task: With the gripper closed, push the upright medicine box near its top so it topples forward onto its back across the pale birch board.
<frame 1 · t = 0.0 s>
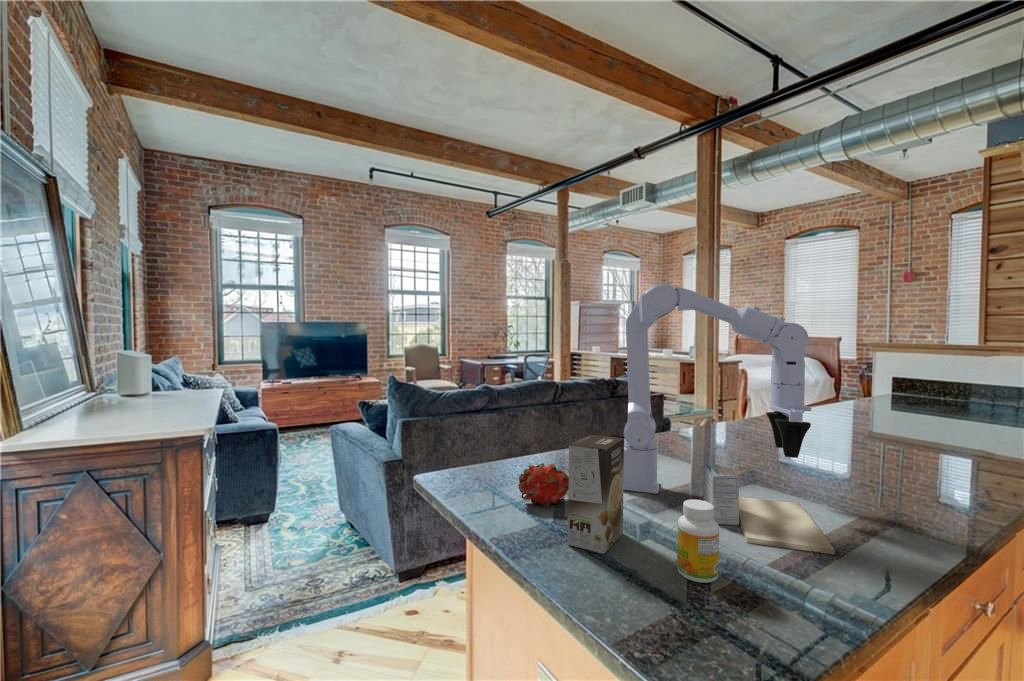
hand: (786, 452, 91), 10 cm above the worktop, fingers open, 7 cm apart
dragon fruit: (545, 503, 91), on the worktop
supplement bottle: (697, 574, 64), on the worktop
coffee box: (596, 540, 75), on the worktop
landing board: (775, 523, 82), on the worktop
medicine box: (720, 518, 84), on the worktop
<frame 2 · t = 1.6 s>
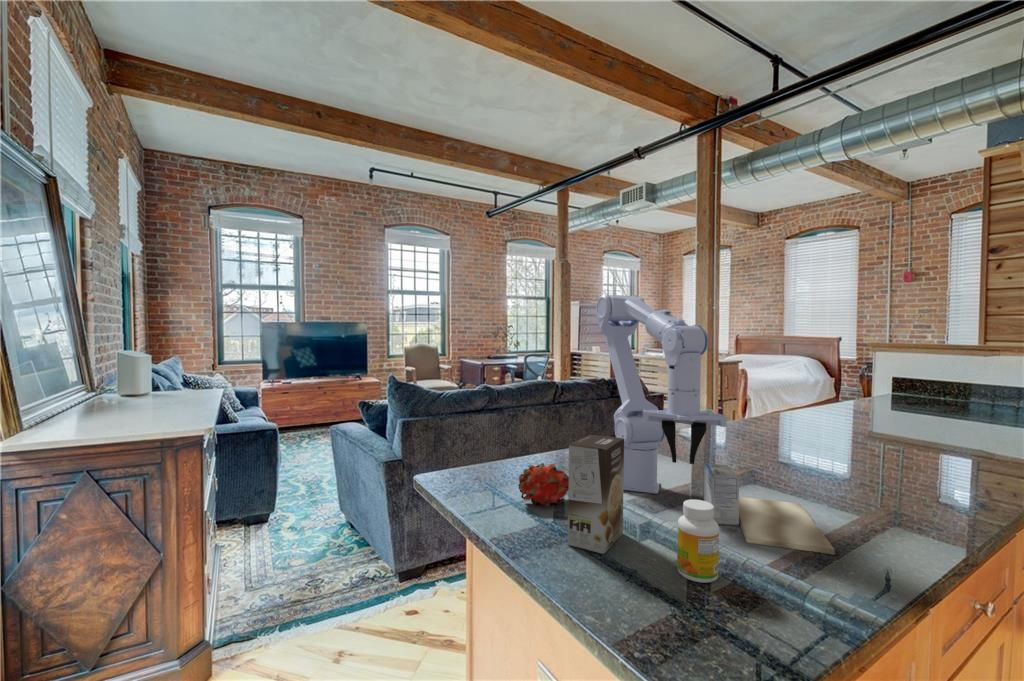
hand: (683, 462, 86), 9 cm above the worktop, fingers closed
nothing on the worktop moved.
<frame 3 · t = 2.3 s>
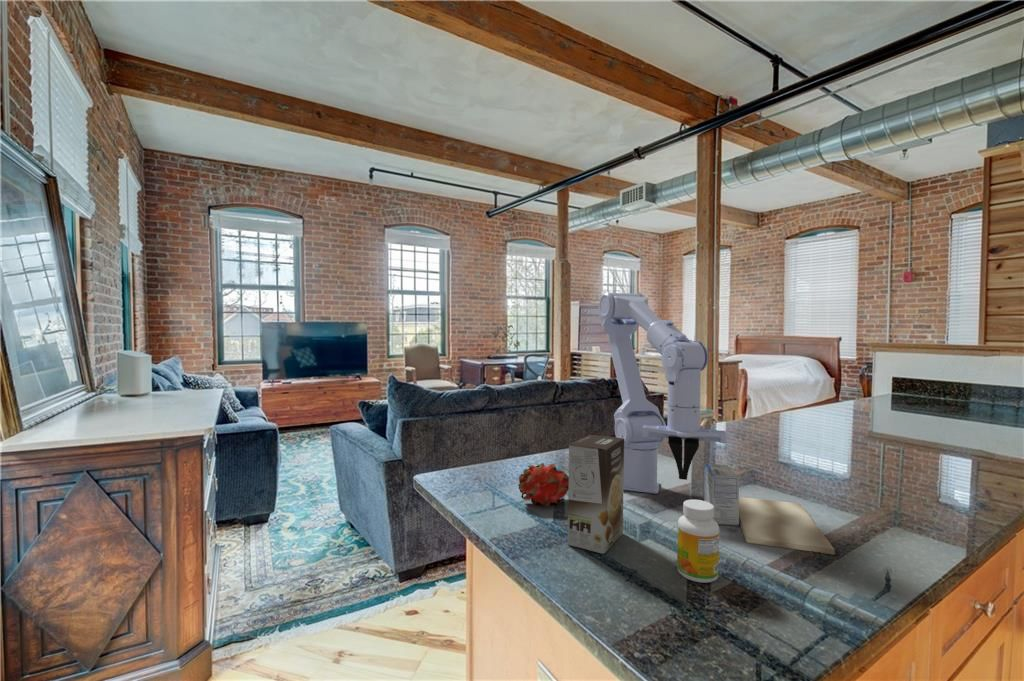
hand: (682, 477, 86), 6 cm above the worktop, fingers closed
nothing on the worktop moved.
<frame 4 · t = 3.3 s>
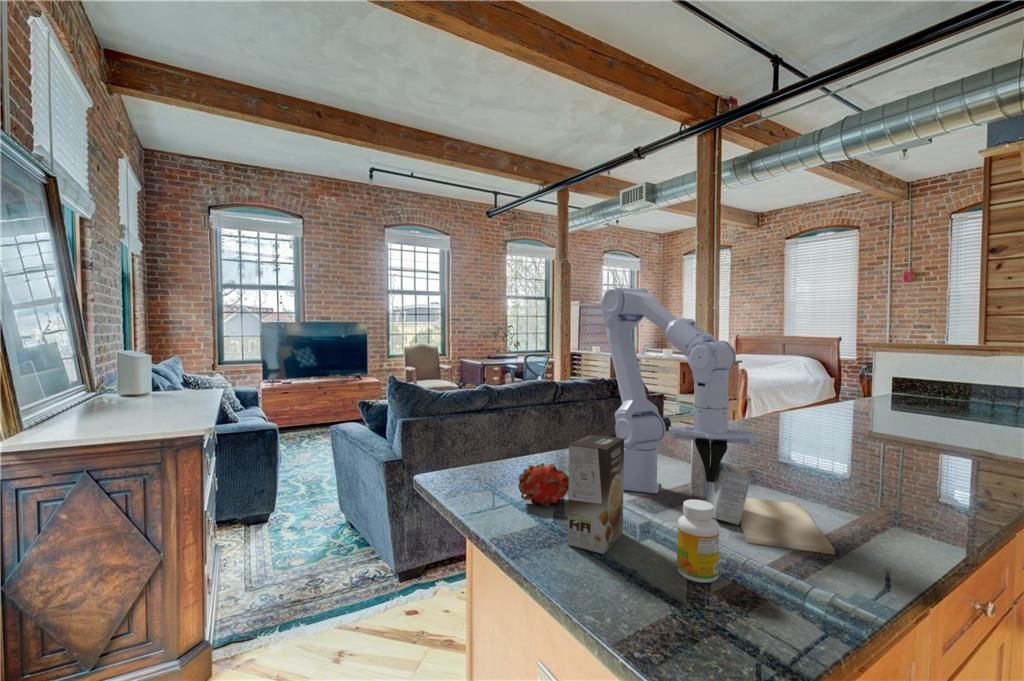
hand: (710, 480, 85), 6 cm above the worktop, fingers closed
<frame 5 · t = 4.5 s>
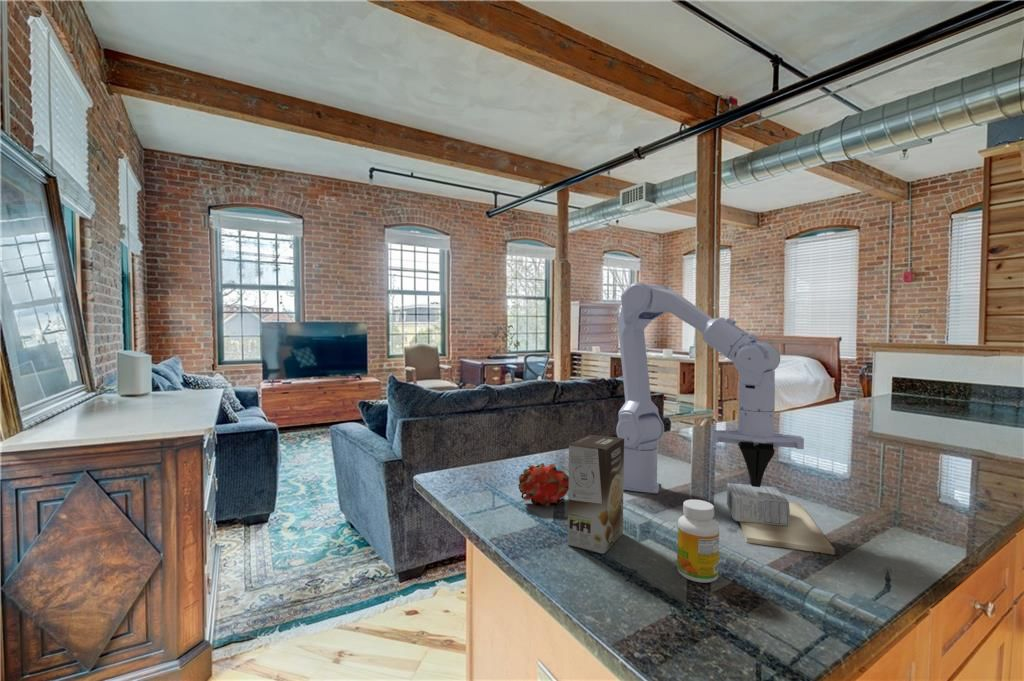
hand: (755, 485, 82), 6 cm above the worktop, fingers closed
medicine box: (728, 500, 84), point 3 cm above the worktop, touching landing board
everything else where it was.
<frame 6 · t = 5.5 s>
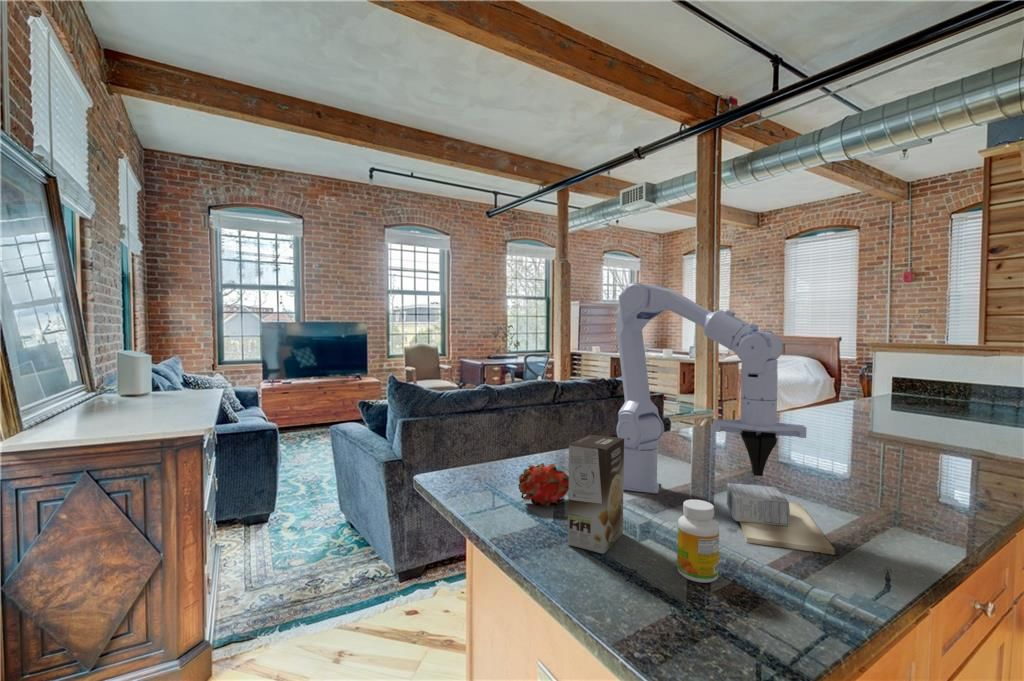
hand: (757, 474, 82), 8 cm above the worktop, fingers closed
nothing on the worktop moved.
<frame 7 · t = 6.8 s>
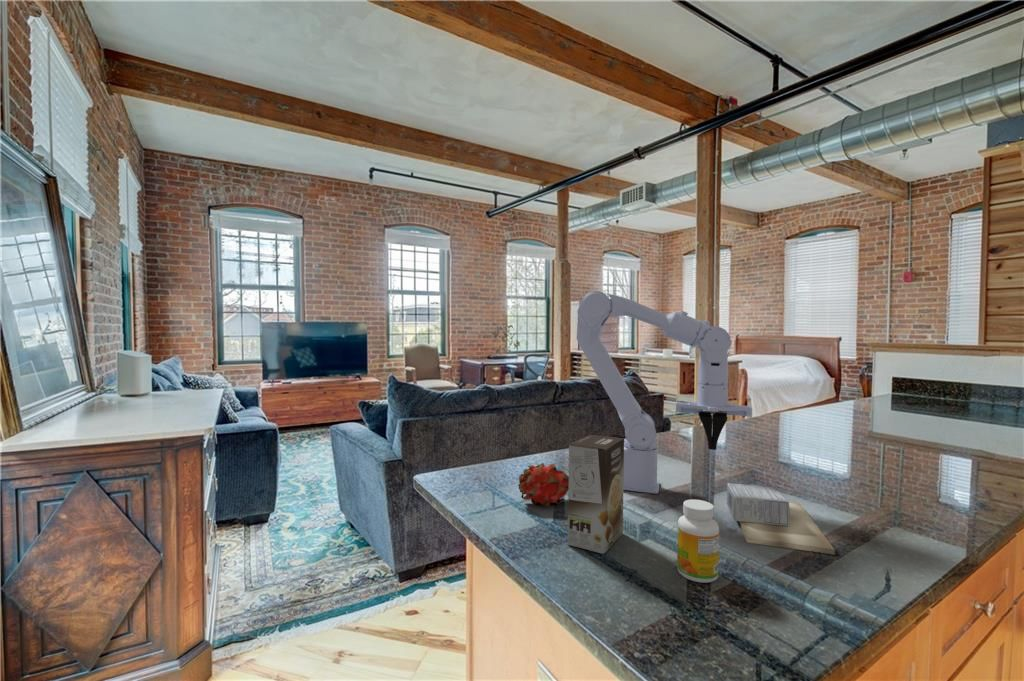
hand: (712, 448, 97), 9 cm above the worktop, fingers closed
nothing on the worktop moved.
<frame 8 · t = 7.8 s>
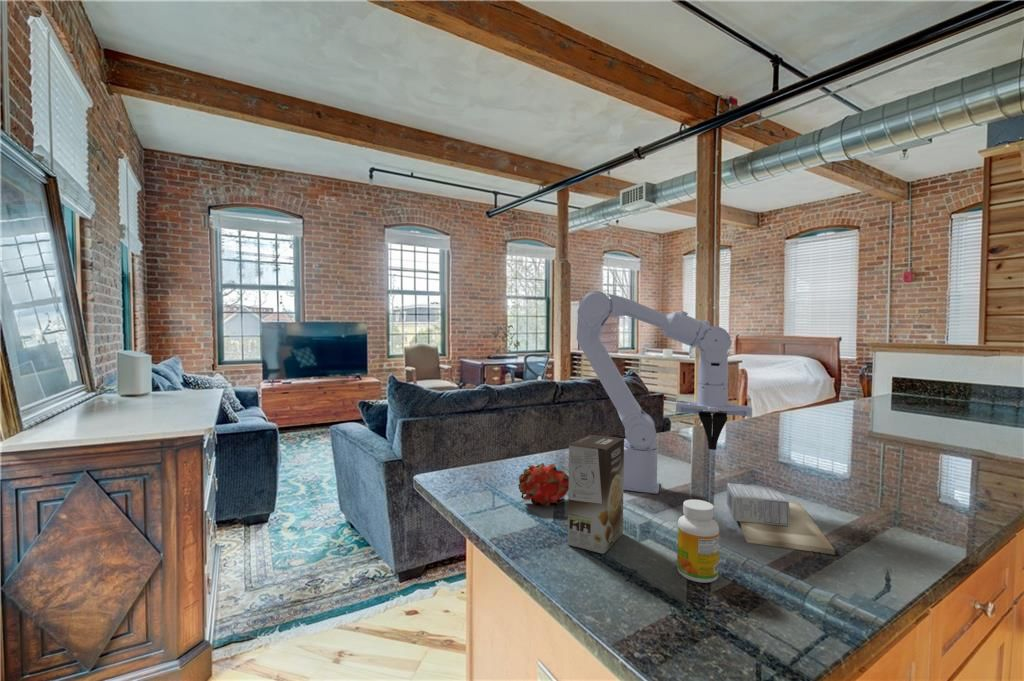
hand: (712, 448, 97), 9 cm above the worktop, fingers closed
nothing on the worktop moved.
at the end: medicine box tilted 90°; medicine box inside the target area (2.6 cm from its centre), point 3.0 cm above the worktop; medicine box touching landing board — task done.
